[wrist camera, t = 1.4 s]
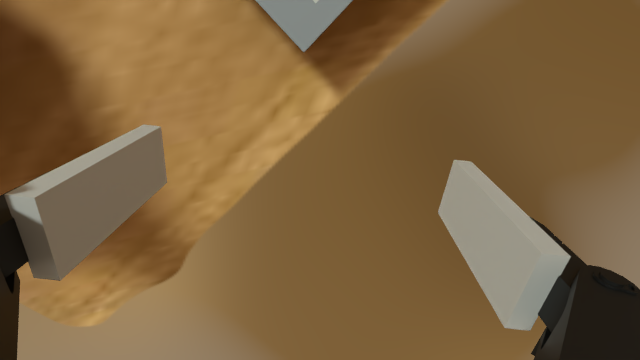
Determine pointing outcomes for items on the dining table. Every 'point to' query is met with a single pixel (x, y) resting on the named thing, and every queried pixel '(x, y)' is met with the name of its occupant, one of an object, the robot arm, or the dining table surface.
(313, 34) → the socket
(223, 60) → the dining table surface
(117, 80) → the dining table surface
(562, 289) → the robot arm
